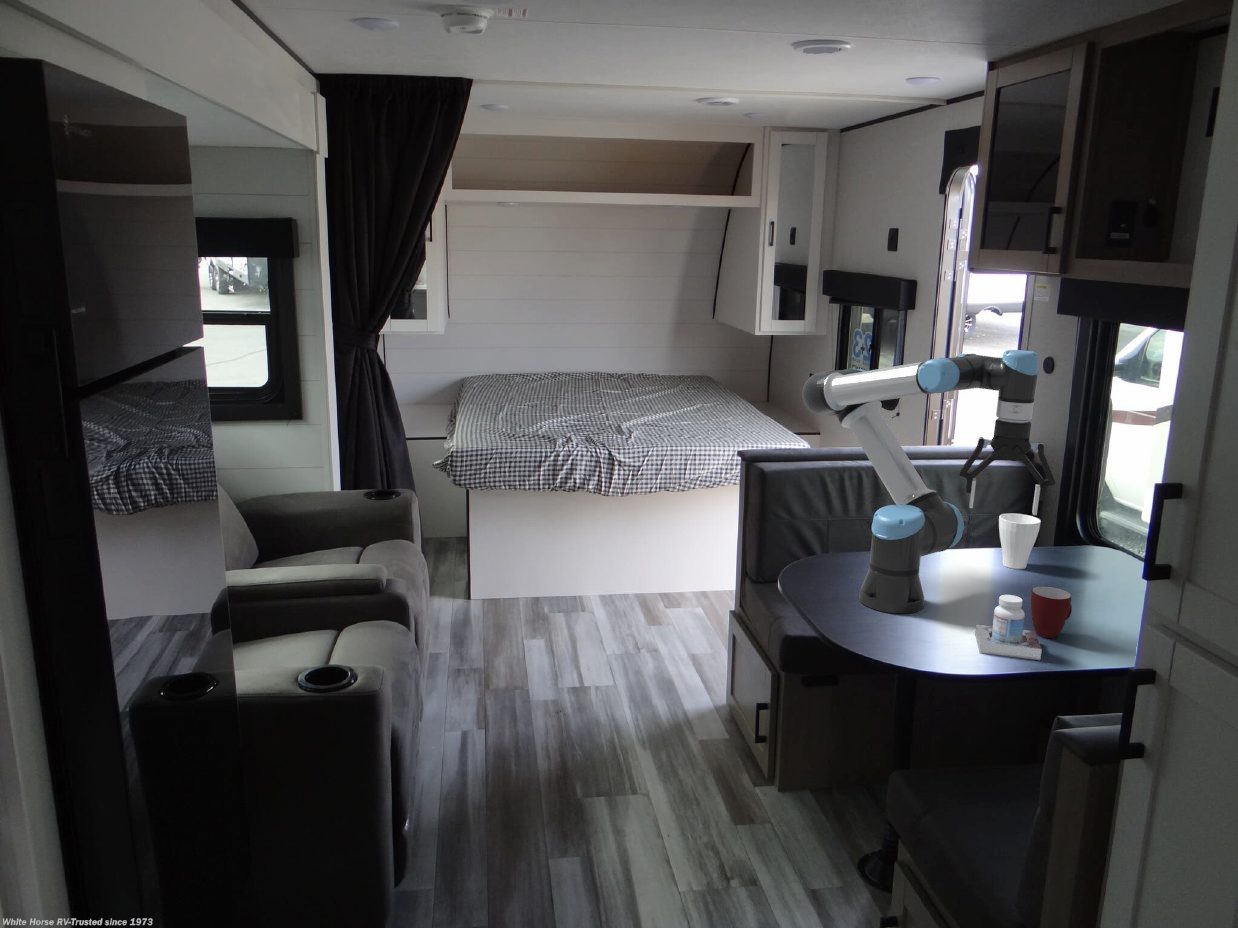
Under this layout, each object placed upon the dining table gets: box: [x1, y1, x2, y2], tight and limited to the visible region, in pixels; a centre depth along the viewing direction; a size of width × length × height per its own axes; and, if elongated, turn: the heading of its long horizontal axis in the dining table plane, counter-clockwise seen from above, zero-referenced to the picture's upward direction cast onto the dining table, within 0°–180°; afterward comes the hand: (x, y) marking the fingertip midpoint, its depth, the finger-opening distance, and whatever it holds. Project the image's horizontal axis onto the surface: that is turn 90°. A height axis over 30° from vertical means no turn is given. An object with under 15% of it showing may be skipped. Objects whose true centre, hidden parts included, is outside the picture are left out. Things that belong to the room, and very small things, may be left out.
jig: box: [974, 624, 1042, 661], centre depth 200 cm, size 12×10×2 cm
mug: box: [1030, 586, 1073, 639], centre depth 207 cm, size 11×8×10 cm
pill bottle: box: [992, 594, 1026, 644], centre depth 199 cm, size 6×6×11 cm
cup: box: [998, 512, 1042, 570], centre depth 253 cm, size 10×10×14 cm
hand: (1002, 510), depth 213 cm, fingers open, 13 cm apart
